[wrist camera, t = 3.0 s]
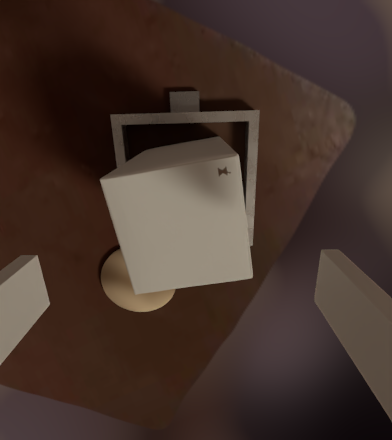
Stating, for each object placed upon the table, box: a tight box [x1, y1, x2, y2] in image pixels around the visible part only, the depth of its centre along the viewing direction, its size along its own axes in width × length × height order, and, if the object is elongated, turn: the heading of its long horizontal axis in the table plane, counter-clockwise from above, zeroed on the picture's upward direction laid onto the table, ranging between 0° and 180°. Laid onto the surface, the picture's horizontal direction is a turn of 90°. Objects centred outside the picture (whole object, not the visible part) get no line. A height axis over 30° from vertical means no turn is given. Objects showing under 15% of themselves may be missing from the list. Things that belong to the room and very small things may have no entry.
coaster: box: [101, 248, 175, 312], centre depth 36 cm, size 10×10×1 cm
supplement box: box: [100, 137, 253, 295], centre depth 24 cm, size 9×9×15 cm
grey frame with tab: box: [110, 91, 260, 246], centre depth 30 cm, size 19×15×2 cm
